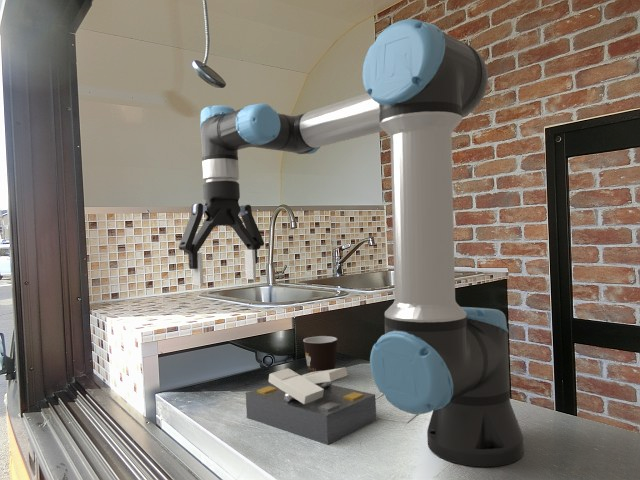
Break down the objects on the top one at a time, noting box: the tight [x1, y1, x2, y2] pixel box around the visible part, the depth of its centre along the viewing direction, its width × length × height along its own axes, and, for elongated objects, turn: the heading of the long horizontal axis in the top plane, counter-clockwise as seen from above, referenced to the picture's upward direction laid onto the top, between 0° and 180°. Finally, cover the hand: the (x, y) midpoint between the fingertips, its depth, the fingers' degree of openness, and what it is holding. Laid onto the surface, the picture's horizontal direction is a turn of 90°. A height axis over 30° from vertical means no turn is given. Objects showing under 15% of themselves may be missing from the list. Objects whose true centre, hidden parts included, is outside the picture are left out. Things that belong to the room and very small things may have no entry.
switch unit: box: [245, 381, 377, 446], centre depth 98 cm, size 22×14×6 cm, turn 47°
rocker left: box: [268, 367, 324, 404], centre depth 95 cm, size 10×5×2 cm, turn 47°
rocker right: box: [300, 367, 348, 384], centre depth 100 cm, size 10×5×2 cm, turn 47°
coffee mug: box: [302, 335, 338, 373], centre depth 127 cm, size 12×9×10 cm
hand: (225, 282), depth 105 cm, fingers open, 13 cm apart
